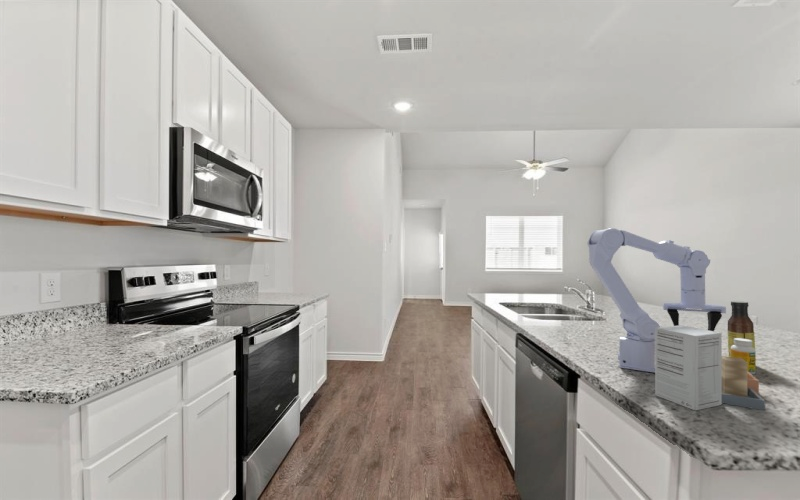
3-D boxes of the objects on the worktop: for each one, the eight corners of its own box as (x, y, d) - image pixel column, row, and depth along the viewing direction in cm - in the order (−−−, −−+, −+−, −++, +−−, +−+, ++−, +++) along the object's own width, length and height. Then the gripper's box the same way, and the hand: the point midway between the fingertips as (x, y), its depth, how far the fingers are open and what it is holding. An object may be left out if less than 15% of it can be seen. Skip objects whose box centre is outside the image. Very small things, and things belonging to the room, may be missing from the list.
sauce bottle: (752, 363, 114) (752, 301, 114) (758, 368, 109) (758, 303, 109) (725, 359, 118) (725, 299, 118) (729, 364, 112) (730, 301, 113)
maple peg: (724, 397, 85) (724, 359, 85) (719, 392, 88) (719, 355, 88) (747, 401, 83) (747, 362, 83) (741, 395, 86) (741, 358, 86)
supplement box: (680, 390, 91) (680, 324, 91) (723, 405, 82) (723, 332, 82) (653, 395, 88) (653, 326, 88) (695, 411, 79) (695, 335, 79)
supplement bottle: (733, 367, 109) (733, 336, 109) (757, 372, 105) (758, 340, 105) (728, 370, 106) (728, 338, 107) (752, 376, 102) (752, 342, 102)
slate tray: (714, 401, 84) (714, 392, 84) (705, 389, 91) (706, 381, 91) (764, 410, 80) (764, 400, 80) (751, 396, 87) (751, 388, 87)
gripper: (664, 290, 107) (665, 335, 107) (728, 292, 100) (729, 341, 100) (661, 288, 113) (662, 330, 113) (722, 290, 106) (722, 335, 106)
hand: (693, 335), depth 107 cm, fingers open, 7 cm apart
